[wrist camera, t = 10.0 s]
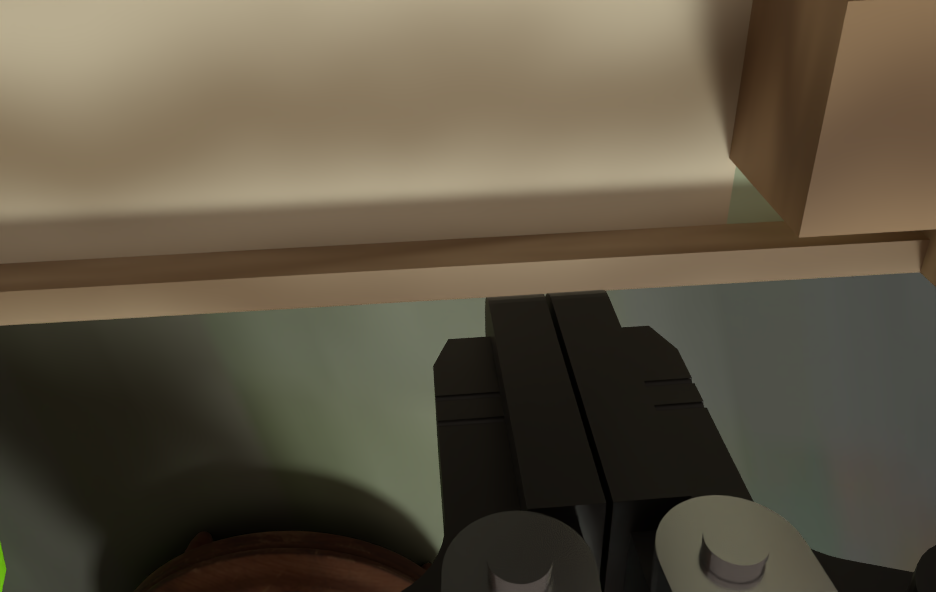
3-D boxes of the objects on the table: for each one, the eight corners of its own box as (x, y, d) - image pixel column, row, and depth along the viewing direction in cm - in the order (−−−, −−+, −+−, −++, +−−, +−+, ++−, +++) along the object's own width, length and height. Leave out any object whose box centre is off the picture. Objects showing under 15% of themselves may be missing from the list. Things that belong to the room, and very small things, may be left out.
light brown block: (758, -43, 19) (848, 1, 15) (966, -52, 19) (1105, -12, 16) (729, 158, 22) (798, 237, 18) (912, 147, 22) (1019, 223, 18)
